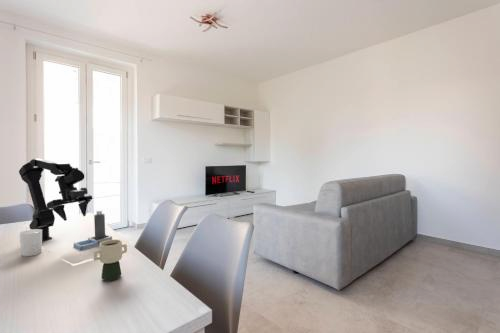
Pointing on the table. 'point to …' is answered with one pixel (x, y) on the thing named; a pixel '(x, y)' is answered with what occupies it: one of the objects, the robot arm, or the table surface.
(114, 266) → the beige and green cup
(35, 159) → the robot arm
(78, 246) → the divided tray
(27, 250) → the white cup
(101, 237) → the gray bottle
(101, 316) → the table surface
